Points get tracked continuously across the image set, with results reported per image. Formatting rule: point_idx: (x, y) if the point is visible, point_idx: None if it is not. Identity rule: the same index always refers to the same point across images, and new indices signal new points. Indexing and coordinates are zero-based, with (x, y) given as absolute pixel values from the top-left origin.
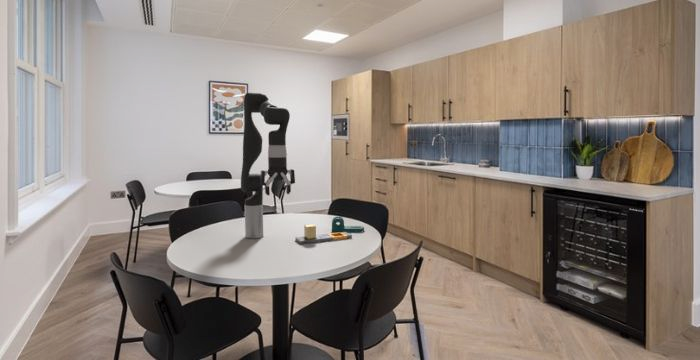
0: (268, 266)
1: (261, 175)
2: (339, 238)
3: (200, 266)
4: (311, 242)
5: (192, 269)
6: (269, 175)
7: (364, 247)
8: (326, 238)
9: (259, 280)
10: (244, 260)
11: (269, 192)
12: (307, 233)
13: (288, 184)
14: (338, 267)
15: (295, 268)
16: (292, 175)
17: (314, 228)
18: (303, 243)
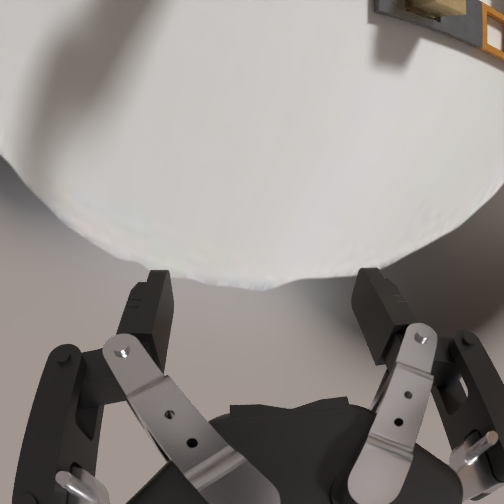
0: (191, 190)
1: (40, 462)
2: (492, 54)
3: (18, 122)
4: (413, 22)
5: (5, 142)
6: (156, 480)
7: (494, 164)
8: (463, 39)
9: None
10: (129, 101)
11: (170, 326)
12: (421, 4)
13: (385, 375)
14: None
15: (260, 237)
16: (456, 445)
17: (455, 12)
18: (385, 14)
